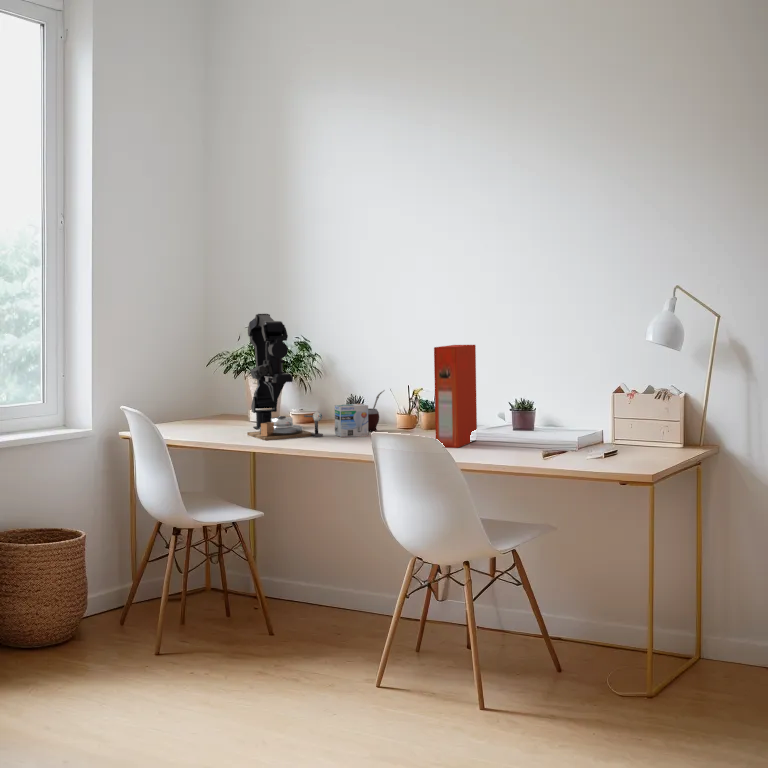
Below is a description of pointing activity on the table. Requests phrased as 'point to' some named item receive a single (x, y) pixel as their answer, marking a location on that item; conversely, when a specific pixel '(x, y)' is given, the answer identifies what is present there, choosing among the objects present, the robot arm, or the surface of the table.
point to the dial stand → (316, 423)
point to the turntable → (278, 430)
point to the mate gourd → (373, 416)
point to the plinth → (272, 437)
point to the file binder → (455, 394)
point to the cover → (282, 422)
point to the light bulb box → (351, 420)
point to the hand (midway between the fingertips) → (274, 401)
